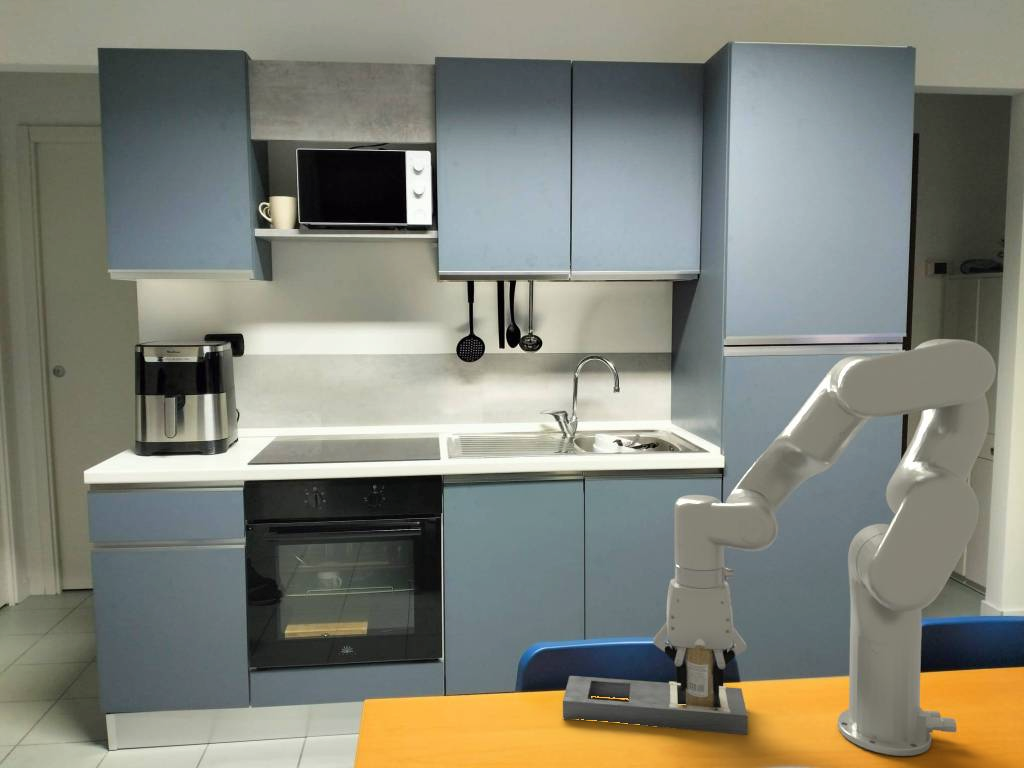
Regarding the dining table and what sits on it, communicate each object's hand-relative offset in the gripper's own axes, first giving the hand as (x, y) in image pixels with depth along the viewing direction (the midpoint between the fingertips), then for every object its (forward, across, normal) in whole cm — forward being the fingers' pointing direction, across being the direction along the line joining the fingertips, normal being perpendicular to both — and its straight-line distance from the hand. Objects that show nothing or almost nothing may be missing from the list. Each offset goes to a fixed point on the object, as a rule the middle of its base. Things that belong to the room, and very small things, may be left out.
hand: (699, 687), depth 120 cm
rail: (+5, +7, 0) cm, 9 cm away
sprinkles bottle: (+4, 0, 0) cm, 4 cm away
